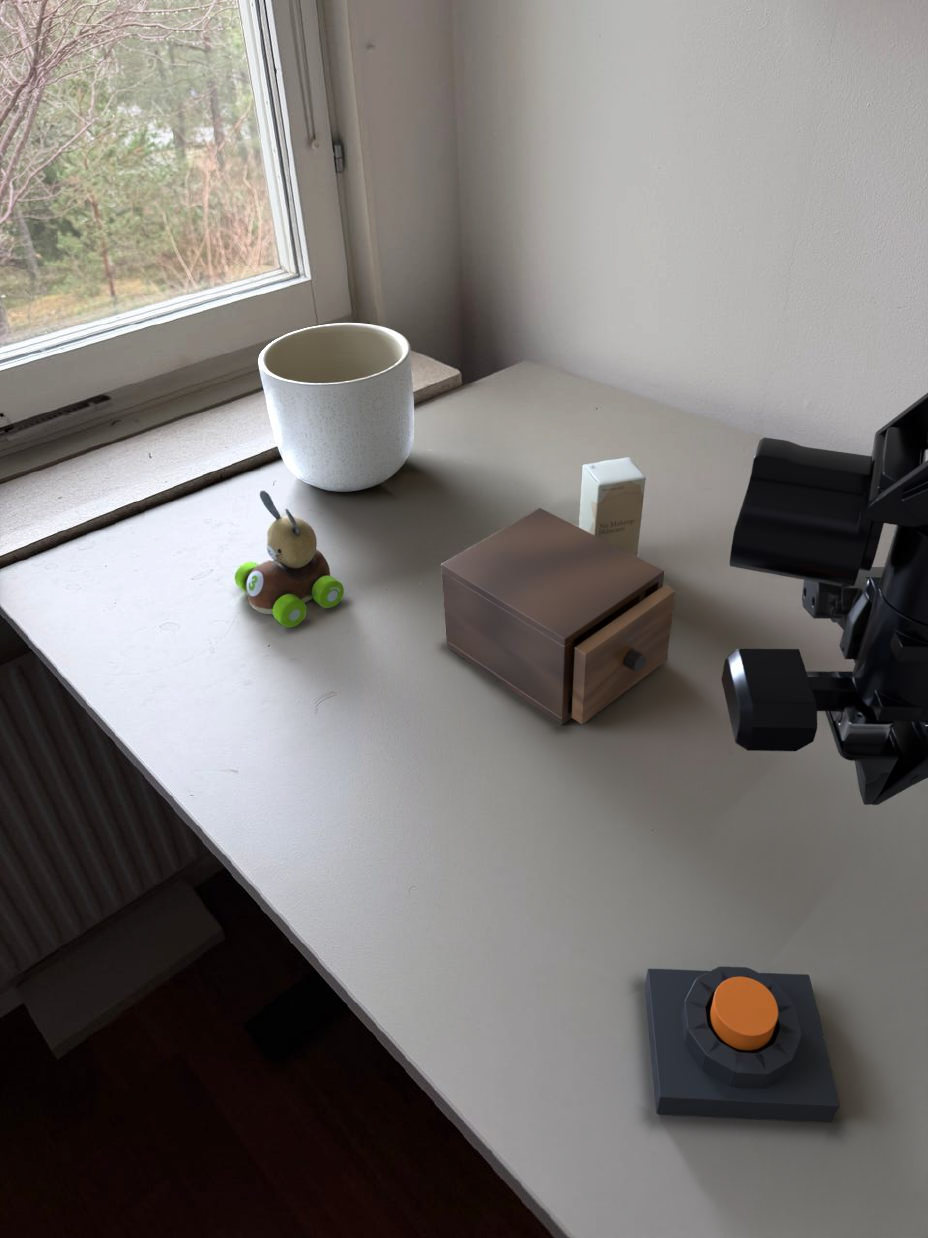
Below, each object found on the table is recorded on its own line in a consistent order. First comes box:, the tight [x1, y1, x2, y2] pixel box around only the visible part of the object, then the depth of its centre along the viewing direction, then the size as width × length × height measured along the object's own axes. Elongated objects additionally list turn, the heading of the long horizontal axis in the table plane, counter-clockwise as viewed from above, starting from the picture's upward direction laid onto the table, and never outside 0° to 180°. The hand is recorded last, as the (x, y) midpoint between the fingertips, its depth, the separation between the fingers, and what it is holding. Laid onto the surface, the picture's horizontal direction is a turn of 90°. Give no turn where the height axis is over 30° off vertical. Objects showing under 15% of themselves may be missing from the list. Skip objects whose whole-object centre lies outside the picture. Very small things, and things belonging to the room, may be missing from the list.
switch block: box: [644, 965, 841, 1124], centre depth 56 cm, size 10×8×4 cm
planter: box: [257, 322, 415, 493], centre depth 109 cm, size 17×17×15 cm
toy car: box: [234, 490, 345, 628], centre depth 91 cm, size 9×9×11 cm
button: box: [710, 977, 778, 1050], centre depth 54 cm, size 4×4×2 cm
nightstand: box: [440, 507, 665, 726], centre depth 84 cm, size 15×13×10 cm
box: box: [578, 456, 647, 557], centre depth 94 cm, size 5×4×11 cm
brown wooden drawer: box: [569, 584, 676, 725], centre depth 82 cm, size 15×11×8 cm
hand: (868, 799), depth 57 cm, fingers closed
